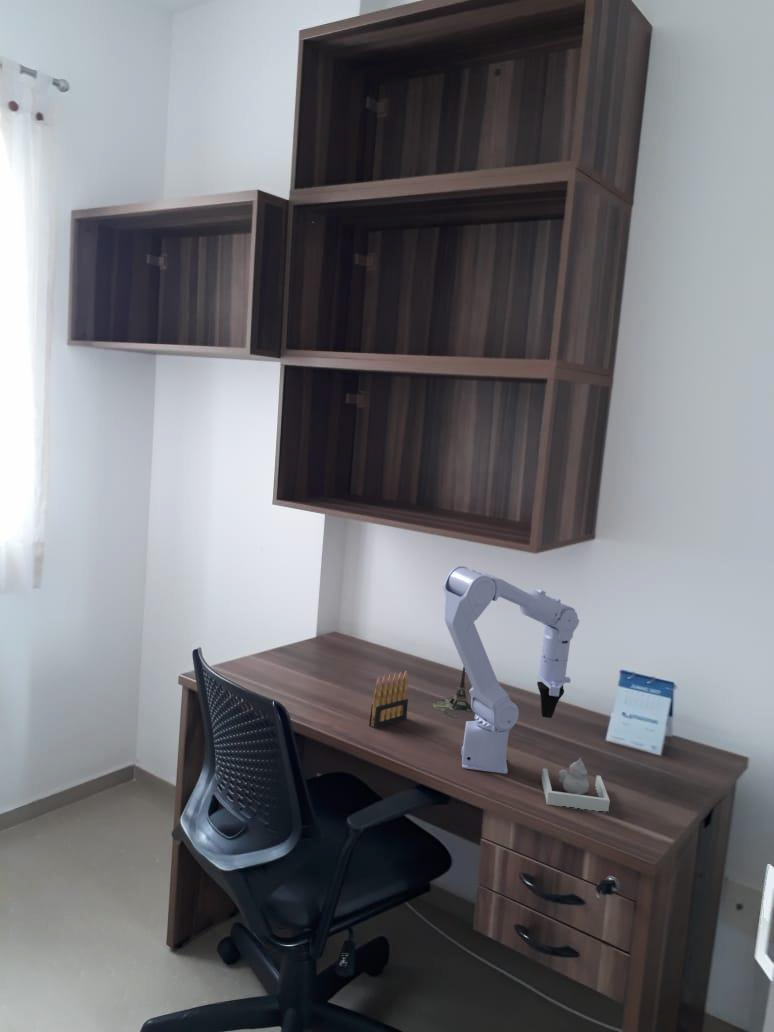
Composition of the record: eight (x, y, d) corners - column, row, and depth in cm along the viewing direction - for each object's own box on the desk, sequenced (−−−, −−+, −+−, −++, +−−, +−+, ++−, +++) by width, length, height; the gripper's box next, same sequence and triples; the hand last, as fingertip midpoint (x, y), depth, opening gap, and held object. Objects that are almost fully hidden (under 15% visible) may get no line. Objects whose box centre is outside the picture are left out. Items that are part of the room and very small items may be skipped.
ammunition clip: (401, 716, 196) (406, 668, 194) (406, 719, 195) (411, 671, 193) (368, 725, 188) (373, 676, 187) (374, 728, 187) (379, 678, 185)
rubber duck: (580, 802, 160) (585, 764, 159) (550, 790, 165) (555, 752, 164) (593, 794, 164) (598, 757, 163) (564, 782, 169) (569, 746, 168)
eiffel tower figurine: (460, 695, 216) (465, 647, 214) (491, 707, 209) (497, 658, 207) (424, 707, 205) (430, 656, 203) (456, 720, 198) (462, 668, 196)
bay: (546, 804, 158) (548, 792, 158) (541, 779, 169) (543, 768, 169) (608, 812, 157) (609, 800, 157) (598, 787, 168) (600, 775, 168)
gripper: (577, 669, 170) (568, 731, 172) (569, 649, 184) (561, 707, 186) (543, 665, 171) (535, 726, 172) (537, 645, 185) (530, 702, 187)
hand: (546, 716), depth 179 cm, fingers closed
